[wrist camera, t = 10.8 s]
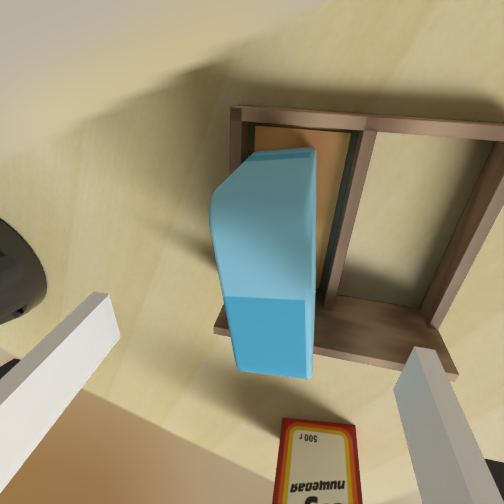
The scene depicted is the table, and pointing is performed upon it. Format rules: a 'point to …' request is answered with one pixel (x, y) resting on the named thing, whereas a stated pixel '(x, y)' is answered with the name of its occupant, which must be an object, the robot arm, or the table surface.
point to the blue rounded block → (269, 260)
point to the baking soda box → (317, 464)
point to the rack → (327, 189)
